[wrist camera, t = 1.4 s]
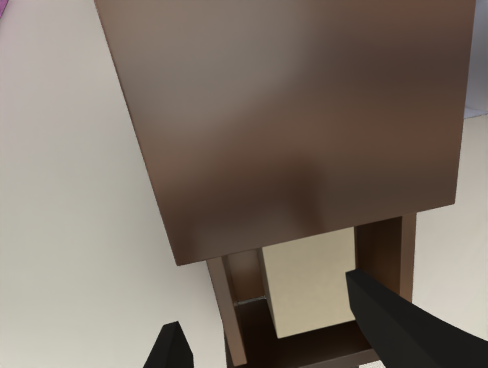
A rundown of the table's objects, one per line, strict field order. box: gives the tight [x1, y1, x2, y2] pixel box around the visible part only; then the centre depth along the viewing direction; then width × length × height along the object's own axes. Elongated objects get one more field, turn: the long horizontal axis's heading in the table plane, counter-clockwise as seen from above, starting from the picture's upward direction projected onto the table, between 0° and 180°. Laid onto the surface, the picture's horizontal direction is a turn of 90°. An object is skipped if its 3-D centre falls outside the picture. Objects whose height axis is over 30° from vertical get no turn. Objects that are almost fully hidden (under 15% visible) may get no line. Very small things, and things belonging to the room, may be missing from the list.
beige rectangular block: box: [257, 227, 356, 338], centre depth 19 cm, size 5×8×4 cm
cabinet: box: [94, 0, 476, 266], centre depth 15 cm, size 14×13×8 cm
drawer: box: [206, 213, 417, 368], centre depth 20 cm, size 18×12×6 cm, turn 11°
